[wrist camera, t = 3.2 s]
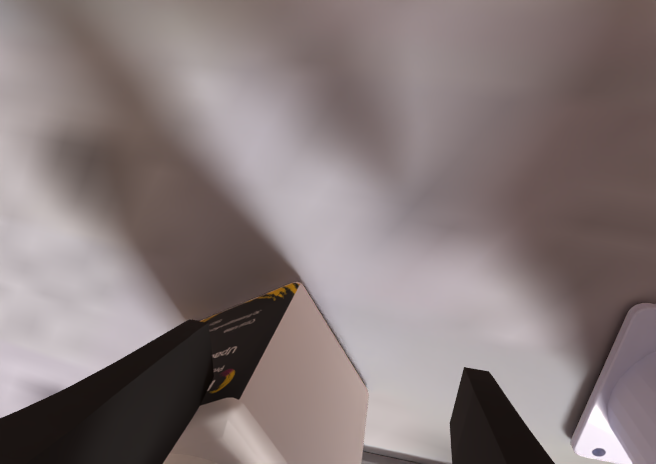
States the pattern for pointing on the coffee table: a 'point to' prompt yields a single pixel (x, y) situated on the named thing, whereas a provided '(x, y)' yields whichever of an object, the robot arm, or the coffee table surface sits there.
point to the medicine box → (276, 389)
